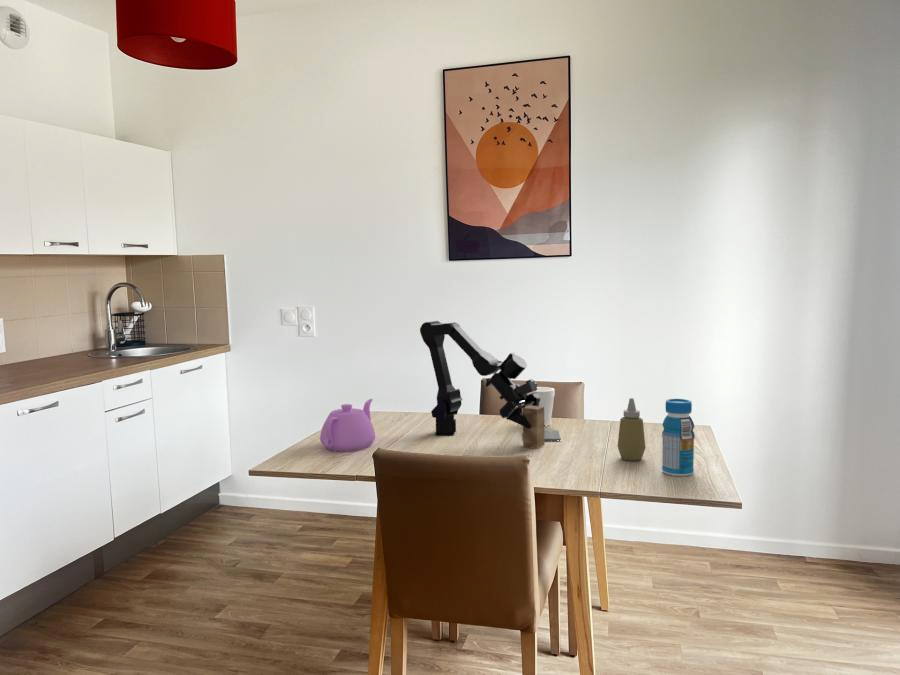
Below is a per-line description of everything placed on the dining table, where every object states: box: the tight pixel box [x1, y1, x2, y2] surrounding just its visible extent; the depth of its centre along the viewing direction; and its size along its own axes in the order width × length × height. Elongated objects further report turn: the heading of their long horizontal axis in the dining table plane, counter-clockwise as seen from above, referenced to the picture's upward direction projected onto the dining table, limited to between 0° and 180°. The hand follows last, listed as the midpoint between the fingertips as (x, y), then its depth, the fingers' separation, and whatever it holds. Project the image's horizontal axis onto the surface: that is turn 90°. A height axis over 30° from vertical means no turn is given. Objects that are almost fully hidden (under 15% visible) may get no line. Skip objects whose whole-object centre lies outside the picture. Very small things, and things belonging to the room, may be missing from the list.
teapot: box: [319, 398, 376, 452], centre depth 226 cm, size 25×18×14 cm
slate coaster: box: [544, 429, 562, 442], centre depth 232 cm, size 12×12×1 cm
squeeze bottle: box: [617, 397, 646, 462], centre depth 203 cm, size 8×8×18 cm
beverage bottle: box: [661, 398, 696, 477], centre depth 188 cm, size 8×8×20 cm
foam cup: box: [527, 386, 556, 425], centre depth 250 cm, size 10×9×13 cm
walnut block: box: [522, 405, 545, 449], centre depth 220 cm, size 5×5×12 cm
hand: (537, 425), depth 219 cm, fingers open, 9 cm apart
